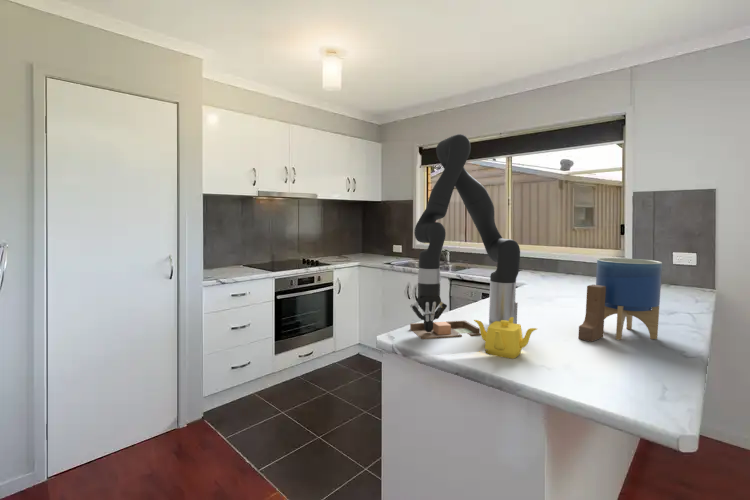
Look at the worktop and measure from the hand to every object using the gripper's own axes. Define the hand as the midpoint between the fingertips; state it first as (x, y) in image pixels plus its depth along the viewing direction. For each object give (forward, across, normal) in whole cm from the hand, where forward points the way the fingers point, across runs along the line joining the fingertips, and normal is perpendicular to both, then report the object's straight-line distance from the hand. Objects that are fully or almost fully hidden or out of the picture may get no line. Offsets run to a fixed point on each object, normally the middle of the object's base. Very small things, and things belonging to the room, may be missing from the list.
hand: (428, 331), depth 133 cm
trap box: (+2, -6, 0) cm, 6 cm away
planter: (+3, -70, +10) cm, 71 cm away
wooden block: (+2, -54, +12) cm, 56 cm away
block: (+1, -5, 0) cm, 5 cm away
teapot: (+2, -18, +18) cm, 25 cm away
